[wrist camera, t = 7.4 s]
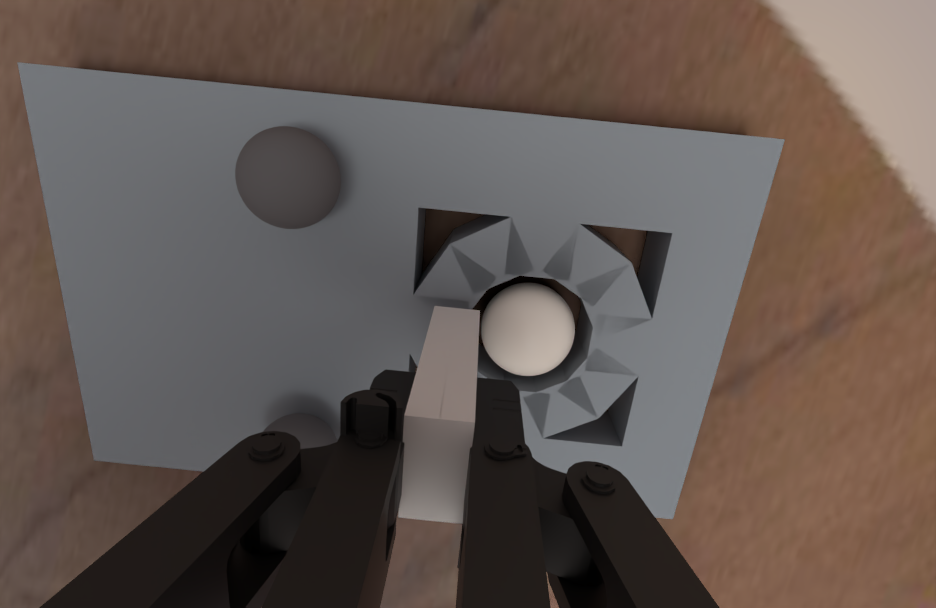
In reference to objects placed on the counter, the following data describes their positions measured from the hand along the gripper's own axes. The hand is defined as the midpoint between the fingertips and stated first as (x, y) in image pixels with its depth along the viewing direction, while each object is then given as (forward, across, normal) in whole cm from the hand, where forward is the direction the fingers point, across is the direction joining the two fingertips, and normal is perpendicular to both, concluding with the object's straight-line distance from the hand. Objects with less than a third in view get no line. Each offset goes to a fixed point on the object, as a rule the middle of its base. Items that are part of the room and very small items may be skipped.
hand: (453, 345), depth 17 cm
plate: (+4, -2, 0) cm, 5 cm away
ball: (+2, +3, 0) cm, 3 cm away
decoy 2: (0, -5, +5) cm, 7 cm away
